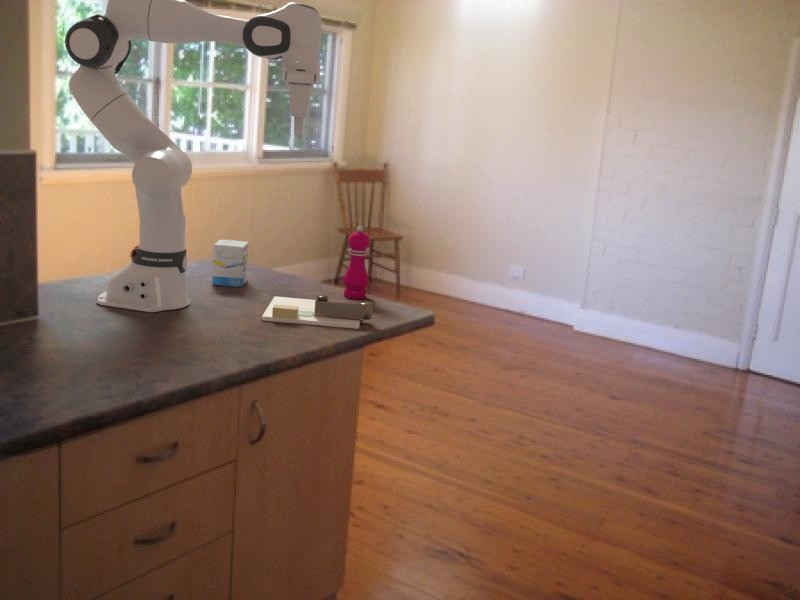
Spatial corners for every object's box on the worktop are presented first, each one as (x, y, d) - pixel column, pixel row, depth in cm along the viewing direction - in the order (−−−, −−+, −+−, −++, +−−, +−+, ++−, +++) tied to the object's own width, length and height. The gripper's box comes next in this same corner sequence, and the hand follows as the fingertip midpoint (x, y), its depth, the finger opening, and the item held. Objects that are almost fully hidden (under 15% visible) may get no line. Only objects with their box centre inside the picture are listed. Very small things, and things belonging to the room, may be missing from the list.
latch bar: (314, 315, 219) (315, 297, 218) (315, 311, 223) (317, 294, 222) (371, 320, 219) (372, 302, 218) (371, 316, 223) (373, 298, 222)
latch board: (261, 320, 216) (262, 306, 215) (274, 299, 235) (275, 287, 235) (358, 328, 216) (359, 315, 215) (363, 307, 236) (364, 295, 235)
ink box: (241, 287, 245) (243, 247, 242) (211, 285, 245) (212, 244, 242) (247, 280, 254) (249, 241, 251) (218, 278, 253) (219, 238, 251)
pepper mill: (364, 300, 243) (369, 229, 238) (339, 297, 244) (344, 226, 239) (370, 295, 250) (375, 225, 244) (345, 291, 251) (350, 222, 246)
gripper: (288, 73, 217) (286, 130, 221) (286, 74, 198) (283, 136, 201) (314, 75, 218) (311, 131, 221) (314, 76, 198) (311, 138, 202)
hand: (298, 134), depth 211 cm, fingers open, 8 cm apart
